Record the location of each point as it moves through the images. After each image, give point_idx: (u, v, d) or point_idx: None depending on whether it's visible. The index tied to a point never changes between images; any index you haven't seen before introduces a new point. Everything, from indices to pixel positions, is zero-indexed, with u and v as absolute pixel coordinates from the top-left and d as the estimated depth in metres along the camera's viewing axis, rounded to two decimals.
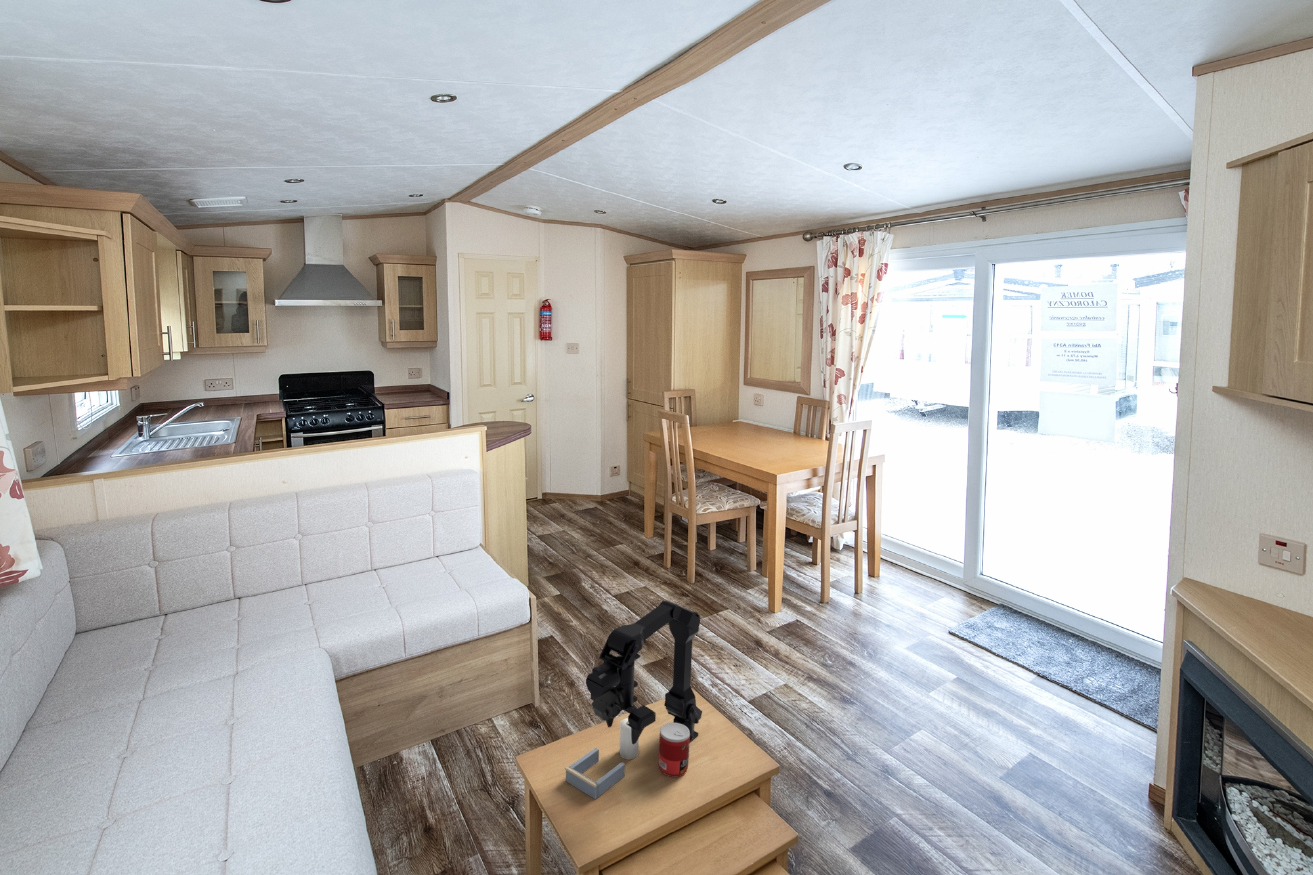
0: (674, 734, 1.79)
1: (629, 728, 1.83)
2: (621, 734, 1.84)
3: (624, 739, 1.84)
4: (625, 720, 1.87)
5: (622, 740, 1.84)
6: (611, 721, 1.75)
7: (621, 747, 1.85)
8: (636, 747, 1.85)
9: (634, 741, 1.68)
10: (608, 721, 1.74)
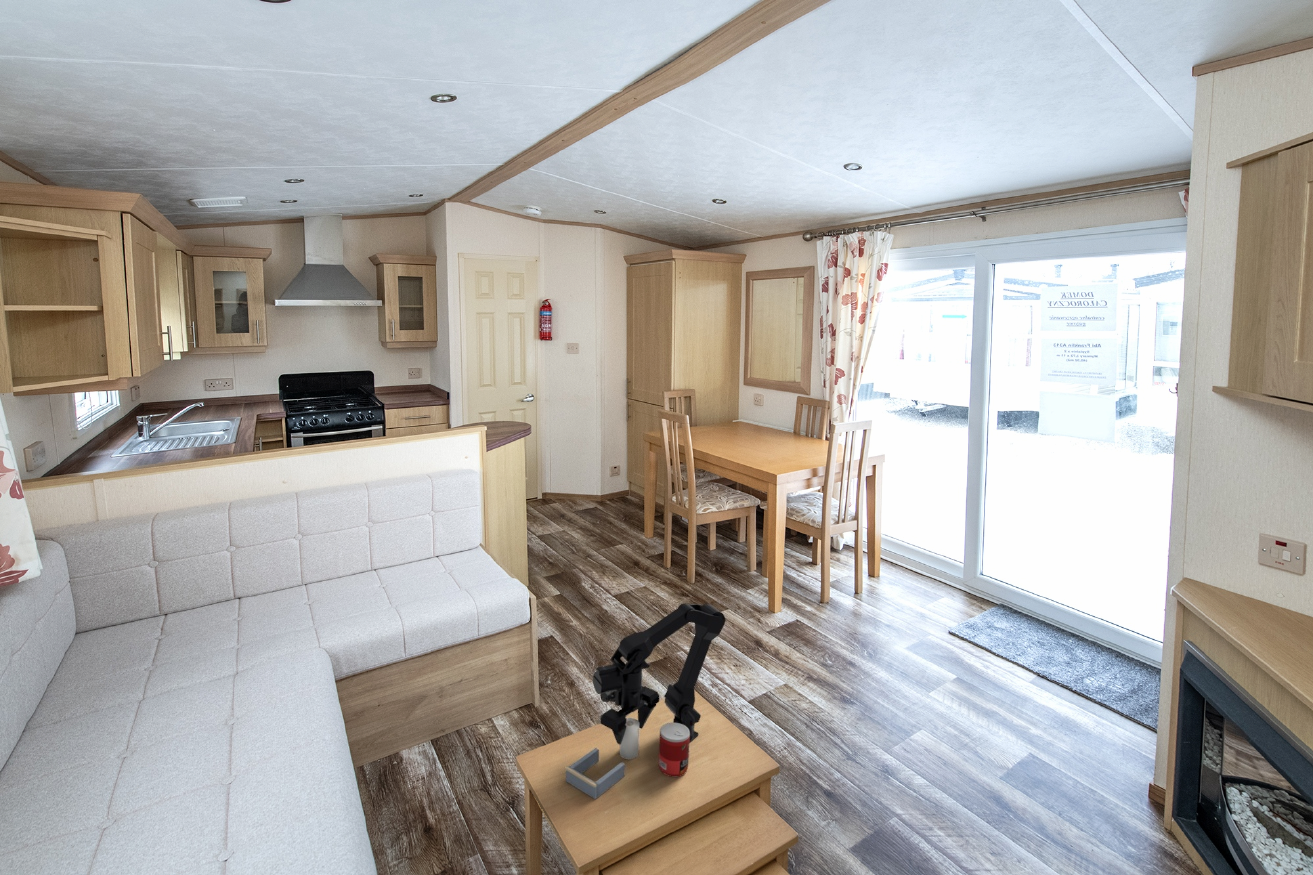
0: (674, 734, 1.79)
1: (629, 728, 1.83)
2: None
3: (624, 739, 1.84)
4: None
5: (622, 740, 1.84)
6: (641, 724, 1.89)
7: (621, 747, 1.85)
8: (636, 747, 1.85)
9: (617, 741, 1.82)
10: None
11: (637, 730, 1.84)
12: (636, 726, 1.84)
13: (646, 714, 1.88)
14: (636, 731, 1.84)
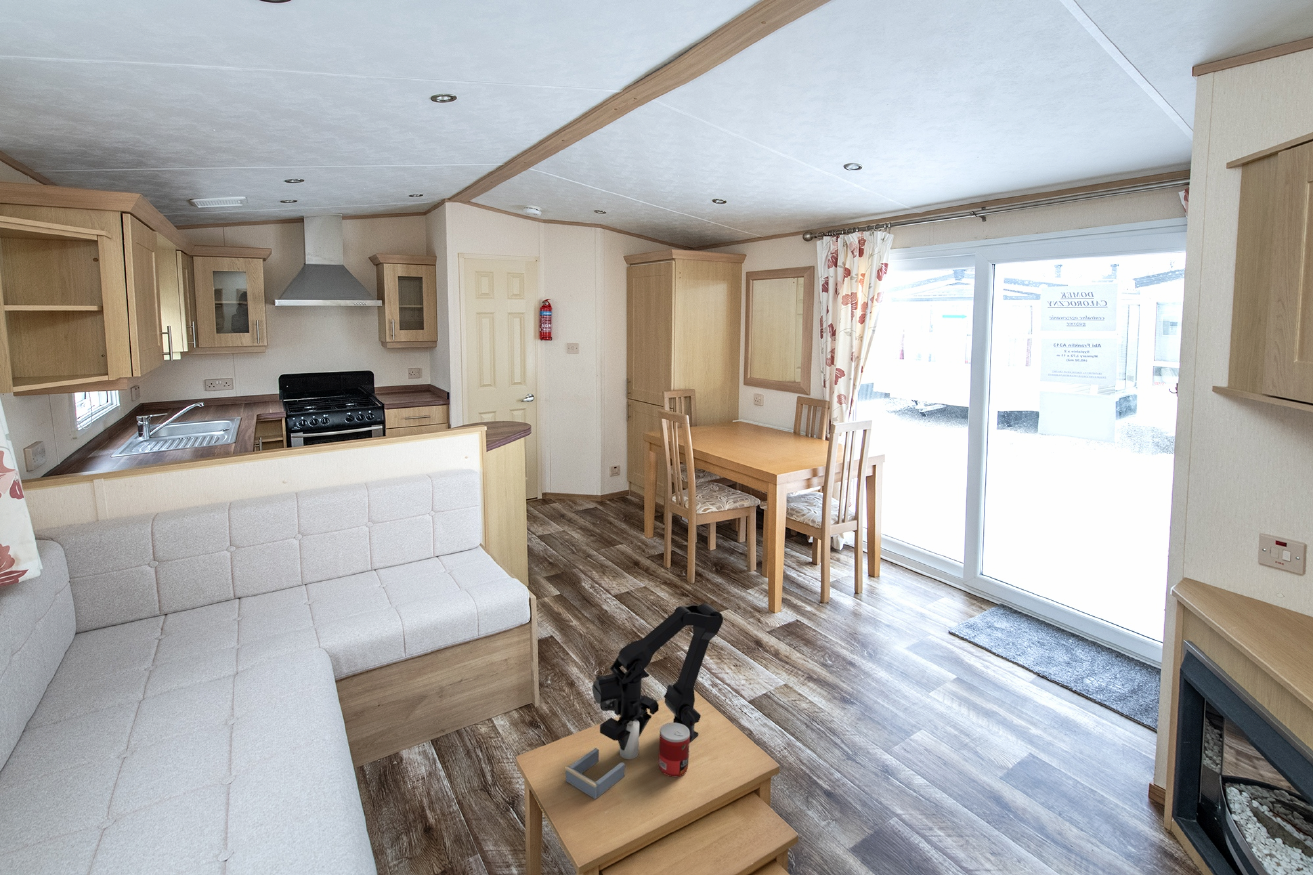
0: (674, 734, 1.79)
1: (629, 728, 1.83)
2: None
3: None
4: None
5: None
6: None
7: None
8: (636, 747, 1.85)
9: (621, 747, 1.84)
10: None
11: (637, 730, 1.84)
12: (636, 726, 1.84)
13: (641, 726, 1.87)
14: (636, 731, 1.84)
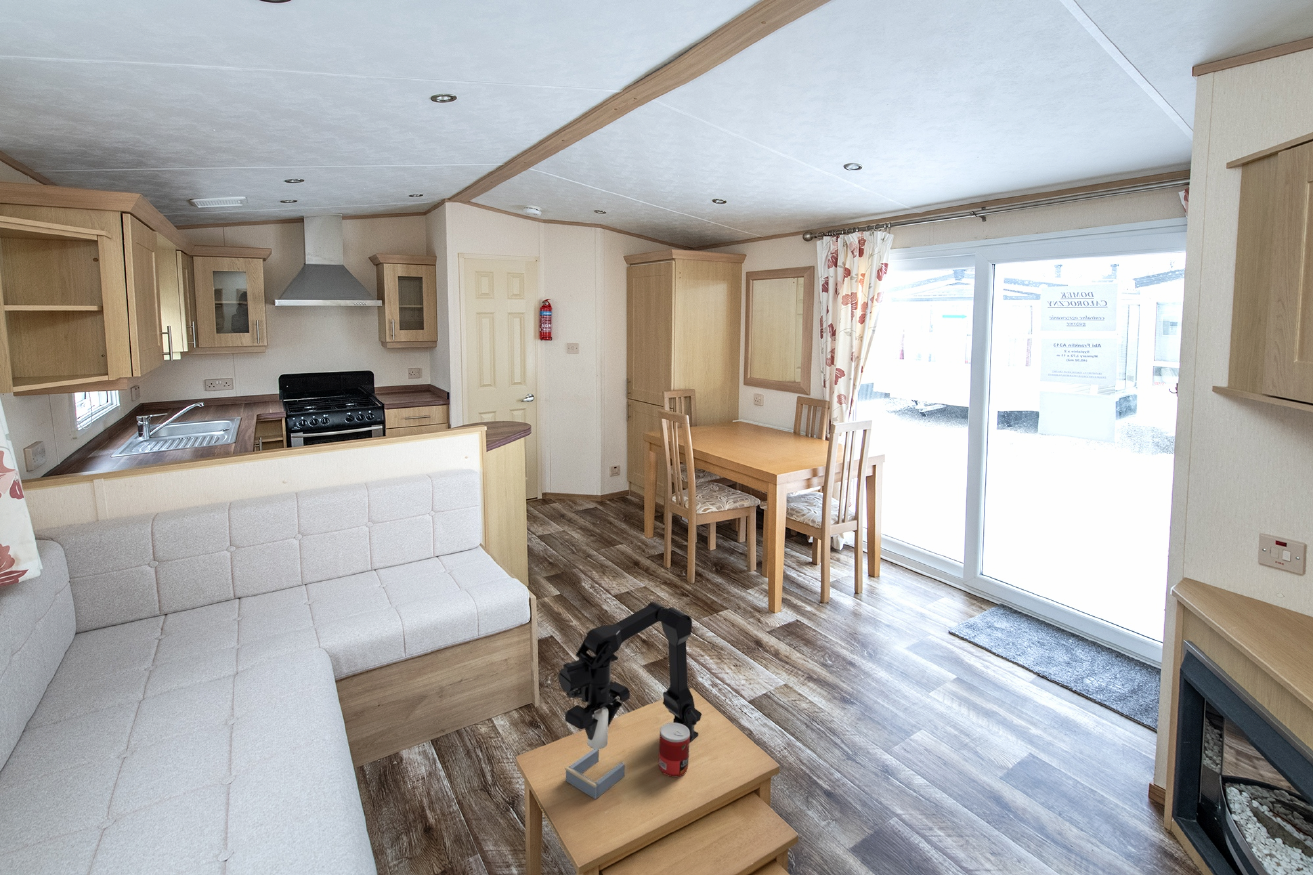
0: (674, 734, 1.79)
1: (597, 716, 1.71)
2: None
3: None
4: None
5: None
6: None
7: None
8: (605, 736, 1.73)
9: (588, 736, 1.72)
10: None
11: (606, 718, 1.72)
12: (605, 714, 1.72)
13: (611, 714, 1.75)
14: (604, 719, 1.72)
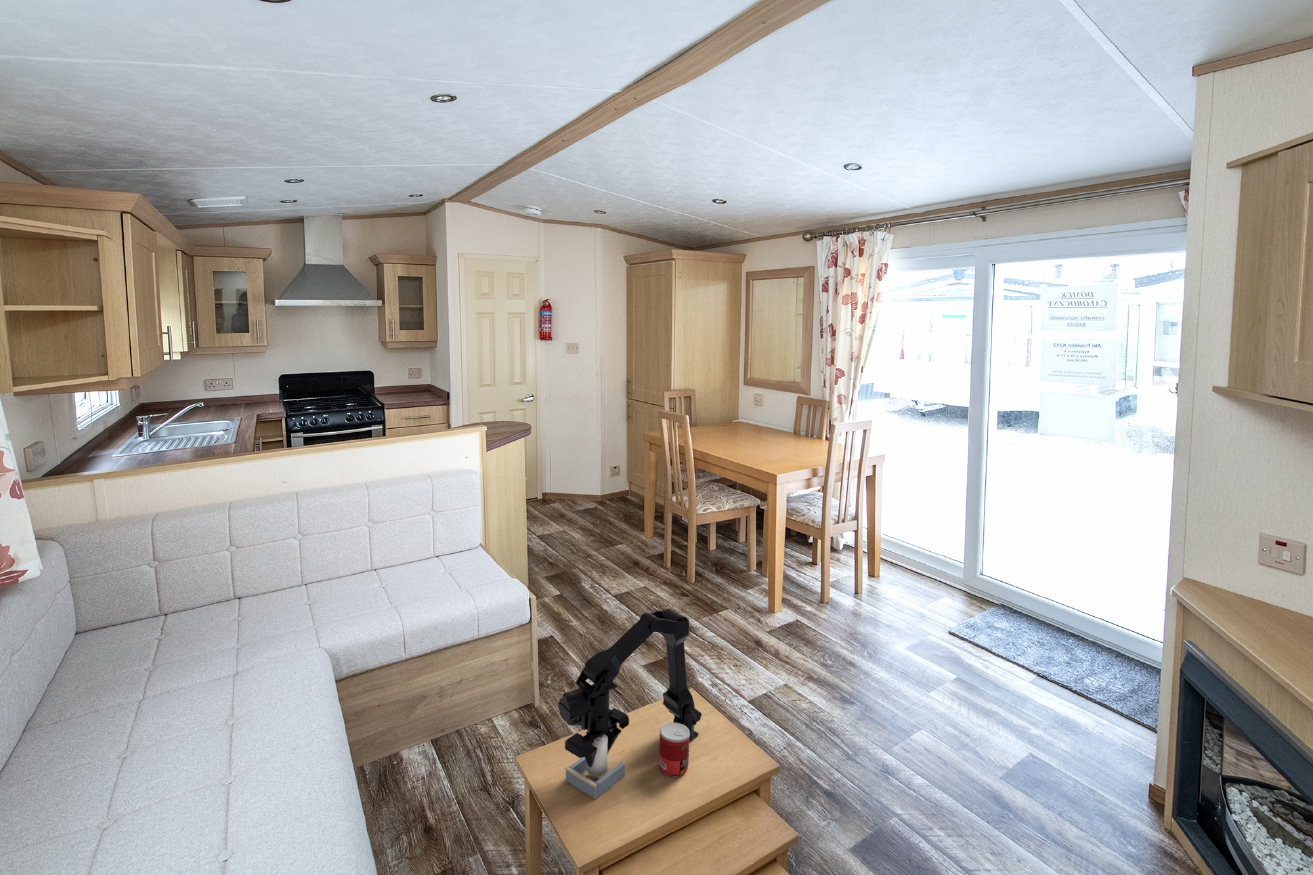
0: (674, 734, 1.79)
1: (596, 744, 1.73)
2: None
3: None
4: None
5: None
6: None
7: None
8: (604, 763, 1.74)
9: (588, 763, 1.73)
10: None
11: (605, 746, 1.74)
12: (604, 741, 1.74)
13: (610, 741, 1.76)
14: (604, 747, 1.73)
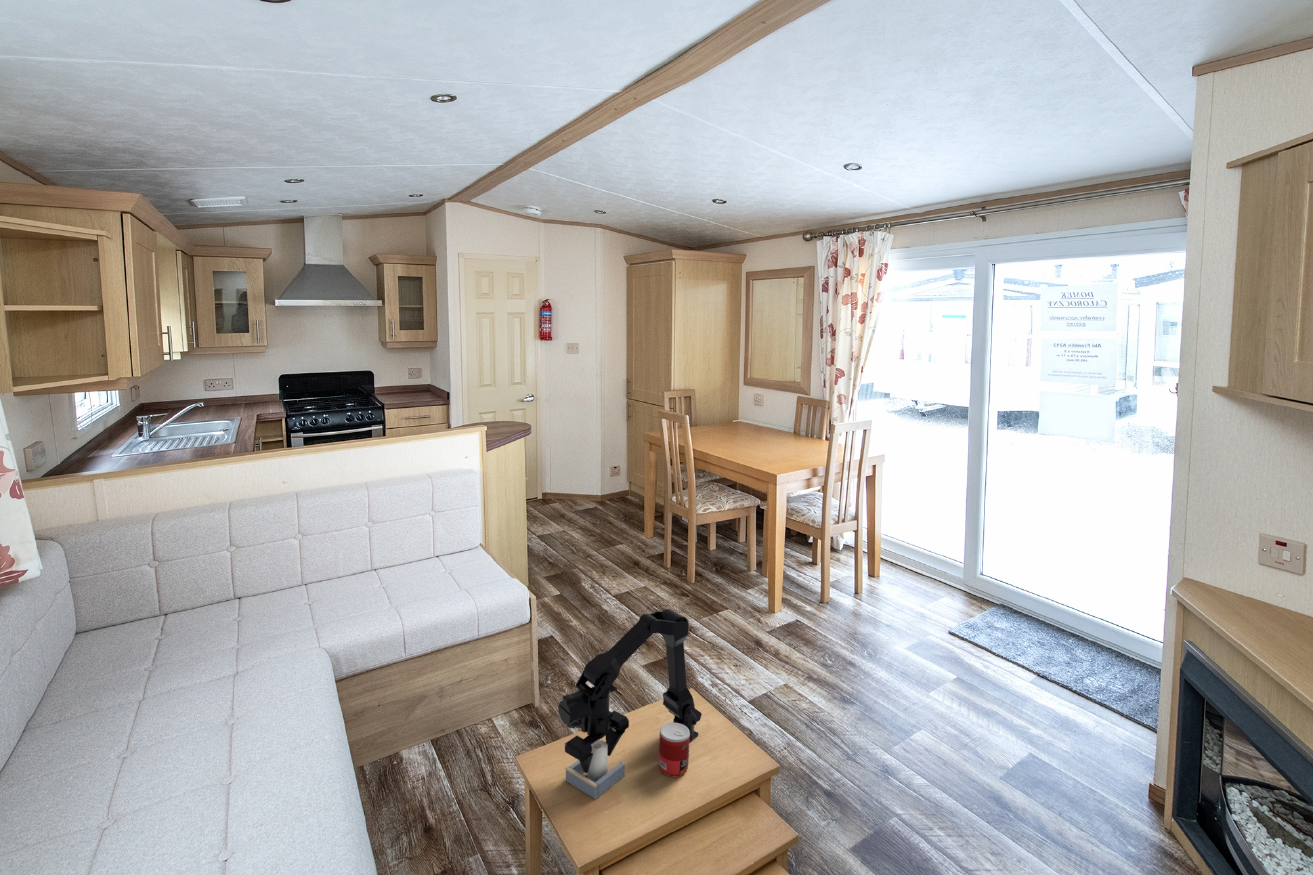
0: (674, 734, 1.79)
1: (596, 751, 1.73)
2: None
3: (591, 763, 1.74)
4: None
5: None
6: (609, 751, 1.79)
7: (588, 771, 1.75)
8: (604, 771, 1.75)
9: (583, 769, 1.72)
10: None
11: (605, 753, 1.74)
12: (604, 749, 1.74)
13: (614, 741, 1.78)
14: (604, 754, 1.74)
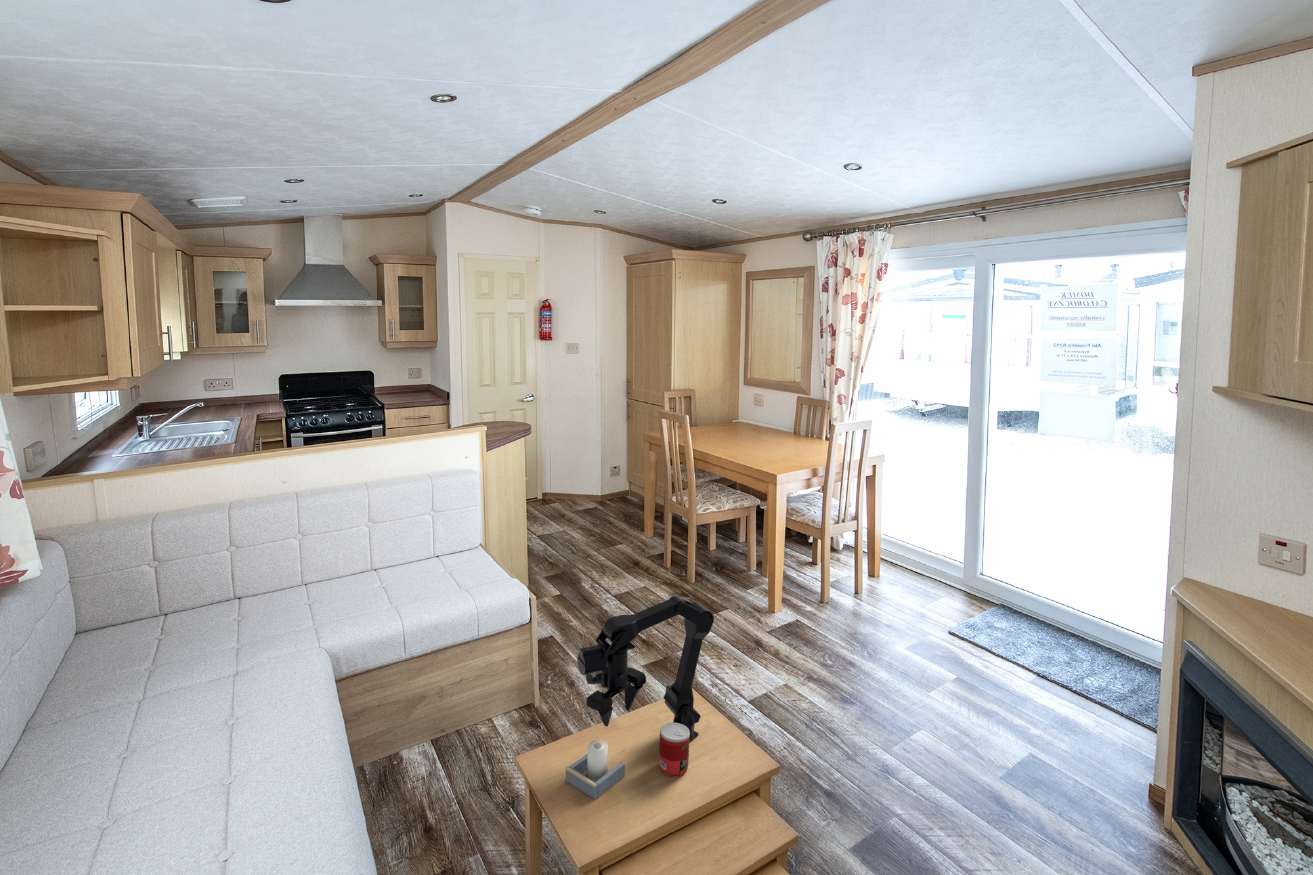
0: (674, 734, 1.79)
1: (596, 751, 1.73)
2: (588, 757, 1.74)
3: (591, 762, 1.74)
4: (593, 742, 1.77)
5: (589, 764, 1.74)
6: (628, 705, 1.87)
7: (588, 771, 1.75)
8: (604, 771, 1.75)
9: (604, 723, 1.80)
10: (625, 702, 1.87)
11: (605, 753, 1.74)
12: (604, 749, 1.74)
13: (633, 695, 1.85)
14: (604, 754, 1.74)
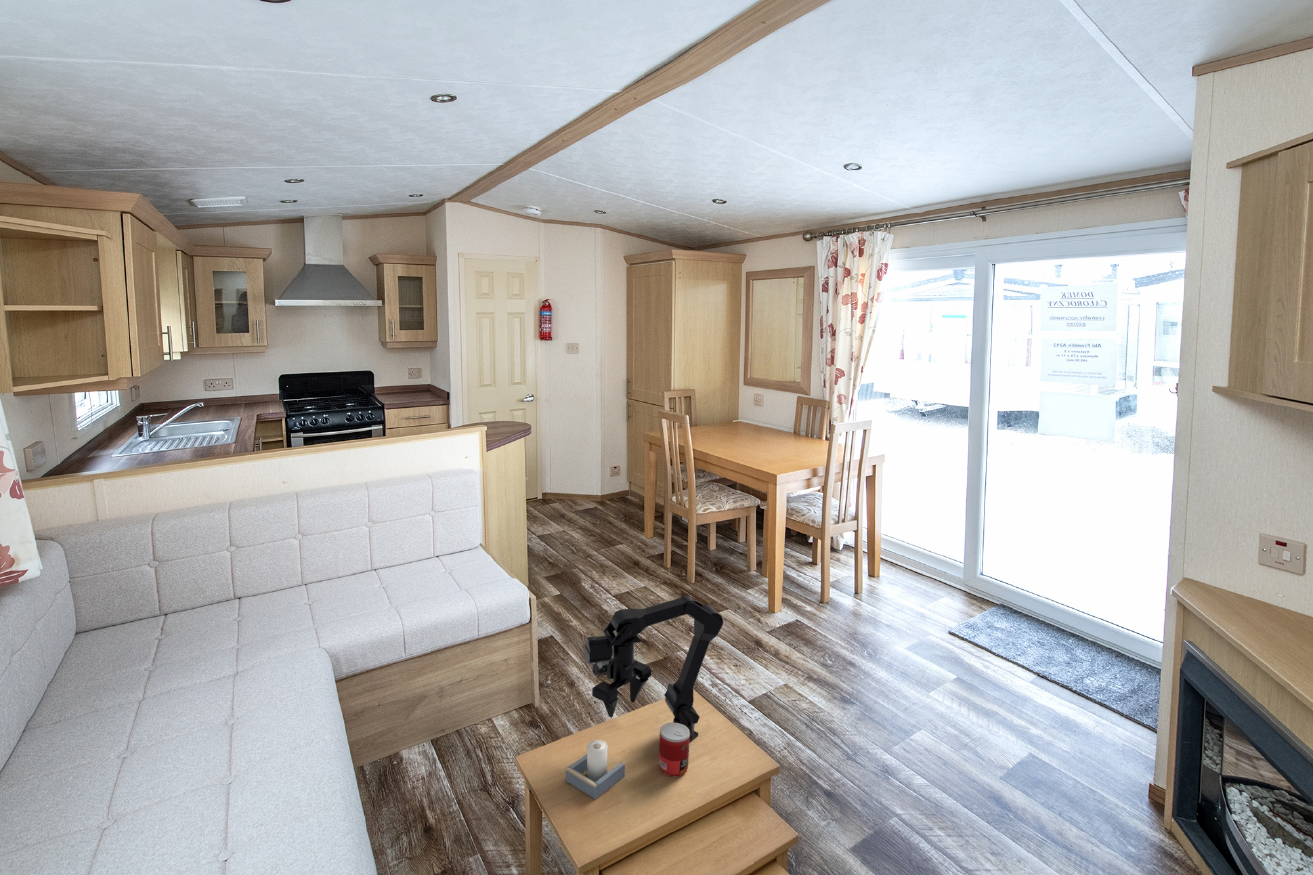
0: (674, 734, 1.79)
1: (596, 751, 1.73)
2: (588, 758, 1.74)
3: (591, 763, 1.74)
4: (592, 742, 1.77)
5: (589, 764, 1.74)
6: (633, 698, 1.89)
7: (588, 771, 1.75)
8: (604, 771, 1.75)
9: (609, 714, 1.83)
10: (630, 695, 1.90)
11: (605, 753, 1.74)
12: (604, 749, 1.74)
13: (638, 688, 1.88)
14: (603, 754, 1.74)
